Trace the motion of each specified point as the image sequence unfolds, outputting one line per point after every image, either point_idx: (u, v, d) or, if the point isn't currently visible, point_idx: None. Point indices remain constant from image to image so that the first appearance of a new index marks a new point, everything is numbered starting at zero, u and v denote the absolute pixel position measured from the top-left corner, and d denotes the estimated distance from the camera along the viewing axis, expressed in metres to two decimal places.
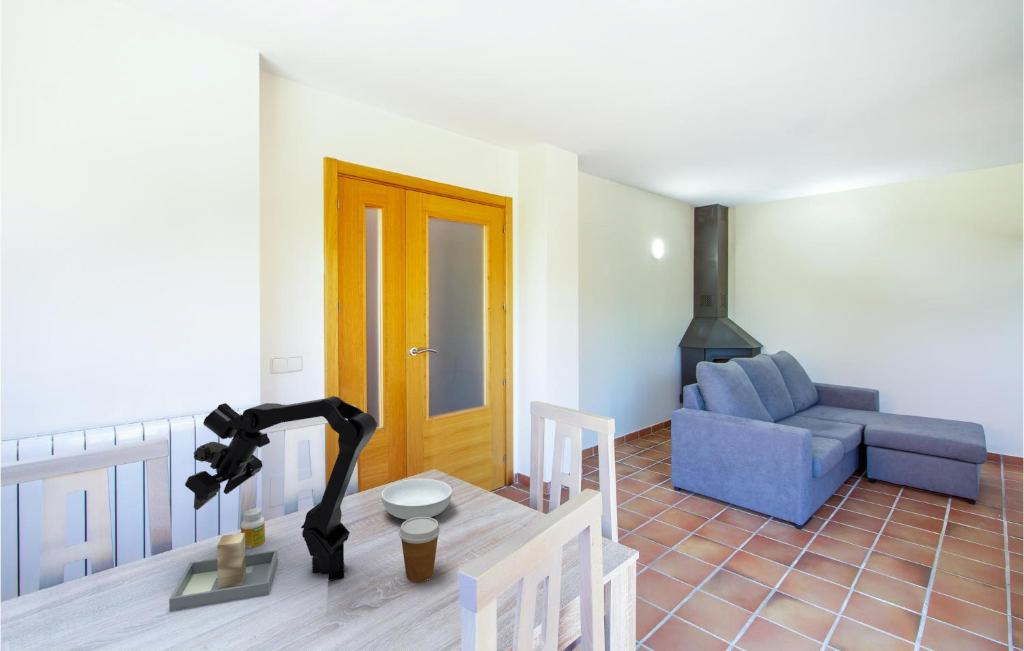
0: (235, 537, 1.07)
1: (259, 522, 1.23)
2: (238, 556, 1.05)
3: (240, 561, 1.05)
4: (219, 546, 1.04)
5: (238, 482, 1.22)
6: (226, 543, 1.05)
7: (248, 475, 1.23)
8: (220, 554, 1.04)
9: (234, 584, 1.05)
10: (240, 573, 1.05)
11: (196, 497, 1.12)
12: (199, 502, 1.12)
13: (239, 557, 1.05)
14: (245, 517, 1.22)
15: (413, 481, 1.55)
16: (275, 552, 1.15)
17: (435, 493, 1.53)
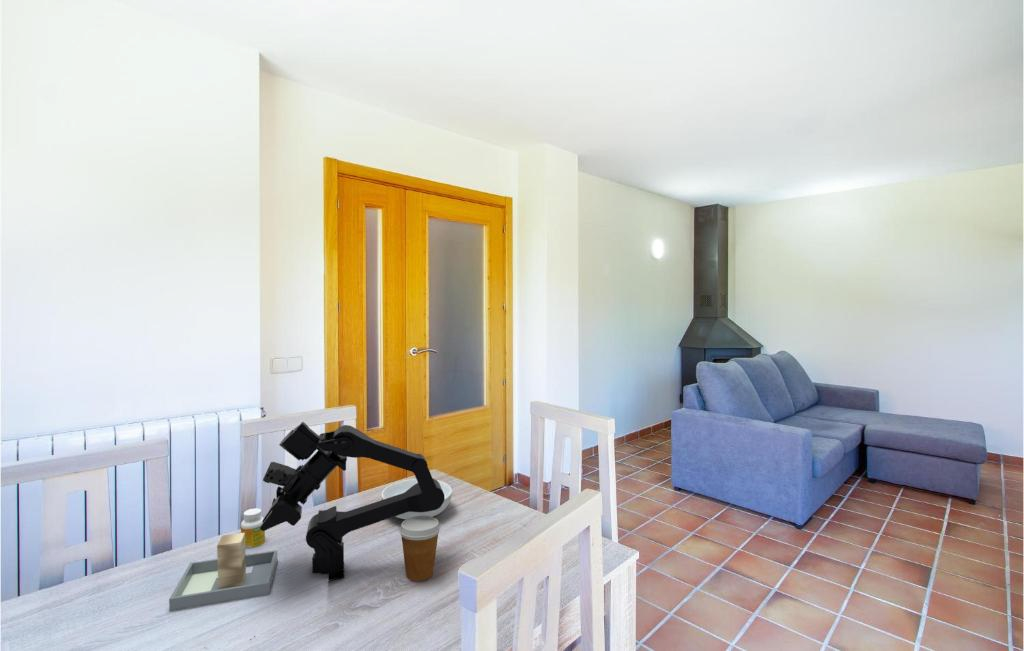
0: (235, 537, 1.07)
1: (259, 522, 1.23)
2: (238, 556, 1.05)
3: (240, 561, 1.05)
4: (219, 546, 1.04)
5: None
6: (226, 543, 1.05)
7: None
8: (220, 554, 1.04)
9: (234, 584, 1.05)
10: (240, 573, 1.05)
11: (270, 517, 1.06)
12: (272, 523, 1.06)
13: (239, 557, 1.05)
14: (245, 517, 1.22)
15: (413, 481, 1.55)
16: (275, 552, 1.15)
17: None
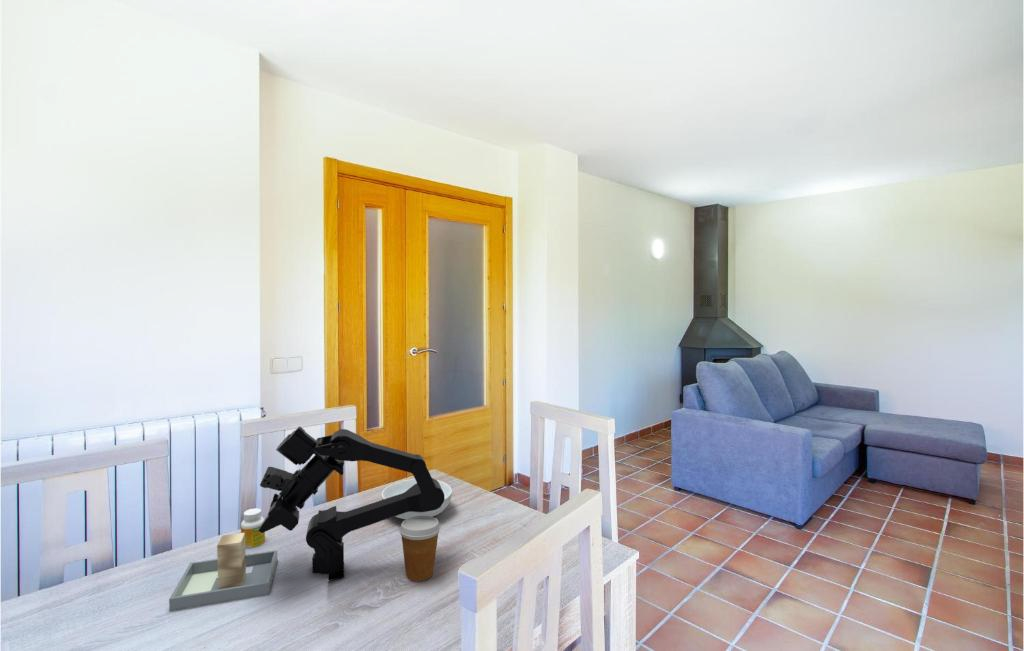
0: (235, 537, 1.07)
1: (259, 522, 1.23)
2: (238, 556, 1.05)
3: (240, 561, 1.05)
4: (219, 546, 1.04)
5: None
6: (226, 543, 1.05)
7: None
8: (220, 554, 1.04)
9: (234, 584, 1.05)
10: (240, 573, 1.05)
11: (269, 519, 1.07)
12: (271, 524, 1.08)
13: (239, 557, 1.05)
14: (245, 517, 1.22)
15: (413, 481, 1.55)
16: (275, 552, 1.15)
17: None
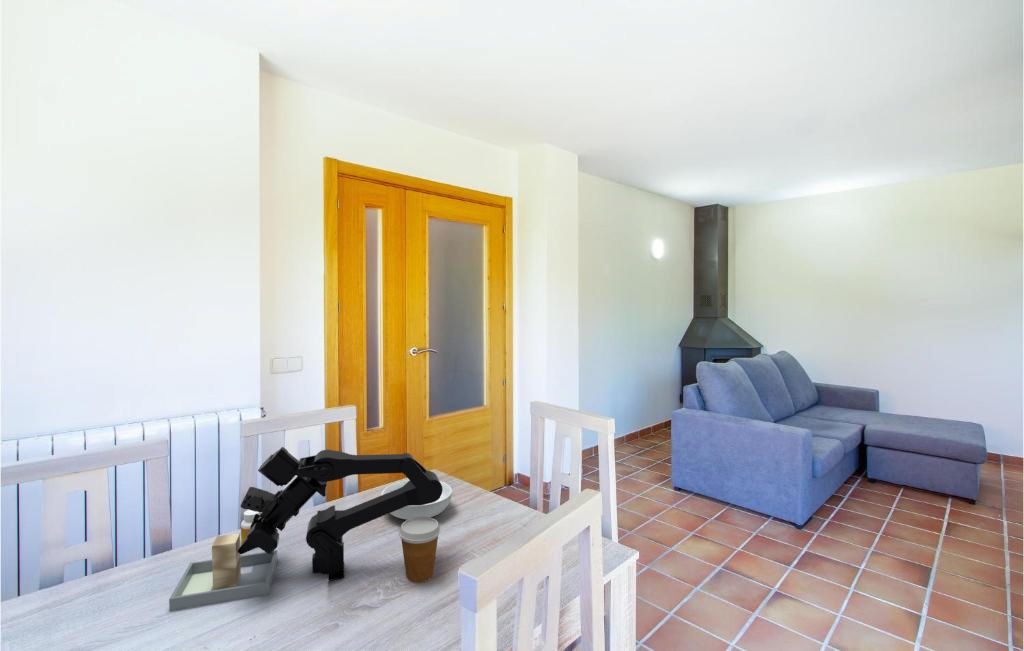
0: (230, 538, 1.07)
1: None
2: (233, 557, 1.05)
3: (235, 561, 1.05)
4: (214, 547, 1.03)
5: None
6: (221, 544, 1.04)
7: None
8: (215, 555, 1.04)
9: (229, 585, 1.05)
10: (235, 574, 1.05)
11: (248, 541, 1.06)
12: (250, 546, 1.07)
13: (234, 558, 1.05)
14: (245, 517, 1.22)
15: None
16: (275, 552, 1.15)
17: None
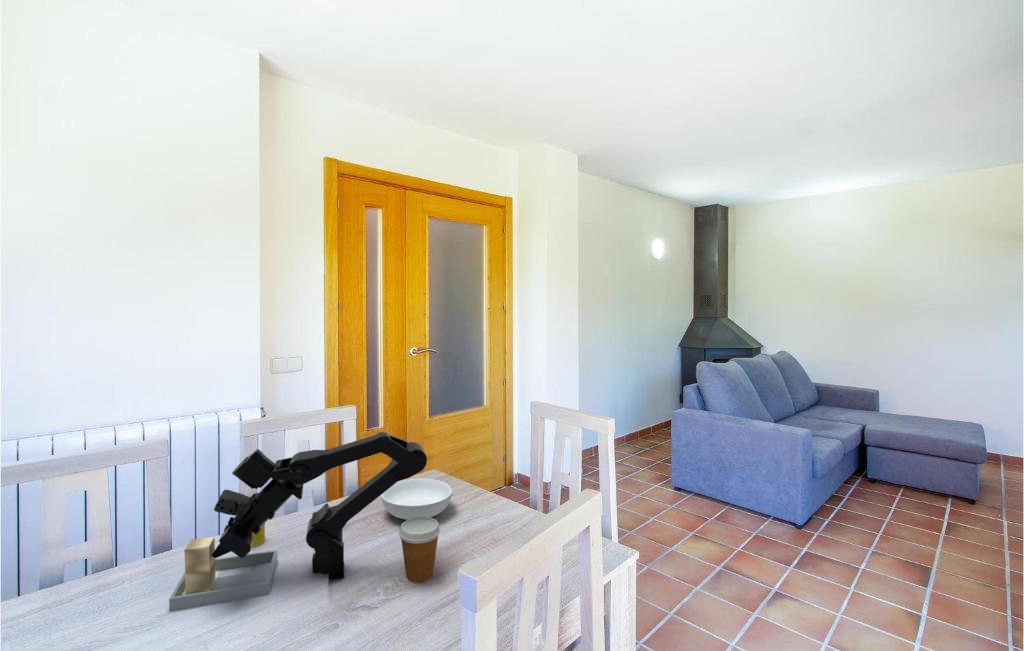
0: (204, 541, 1.05)
1: None
2: (206, 561, 1.03)
3: (208, 565, 1.03)
4: (186, 550, 1.02)
5: None
6: (194, 547, 1.03)
7: None
8: (187, 558, 1.02)
9: (202, 589, 1.03)
10: (208, 578, 1.03)
11: (222, 544, 1.05)
12: (224, 550, 1.05)
13: (207, 562, 1.03)
14: None
15: (413, 481, 1.55)
16: (275, 552, 1.15)
17: (435, 493, 1.53)
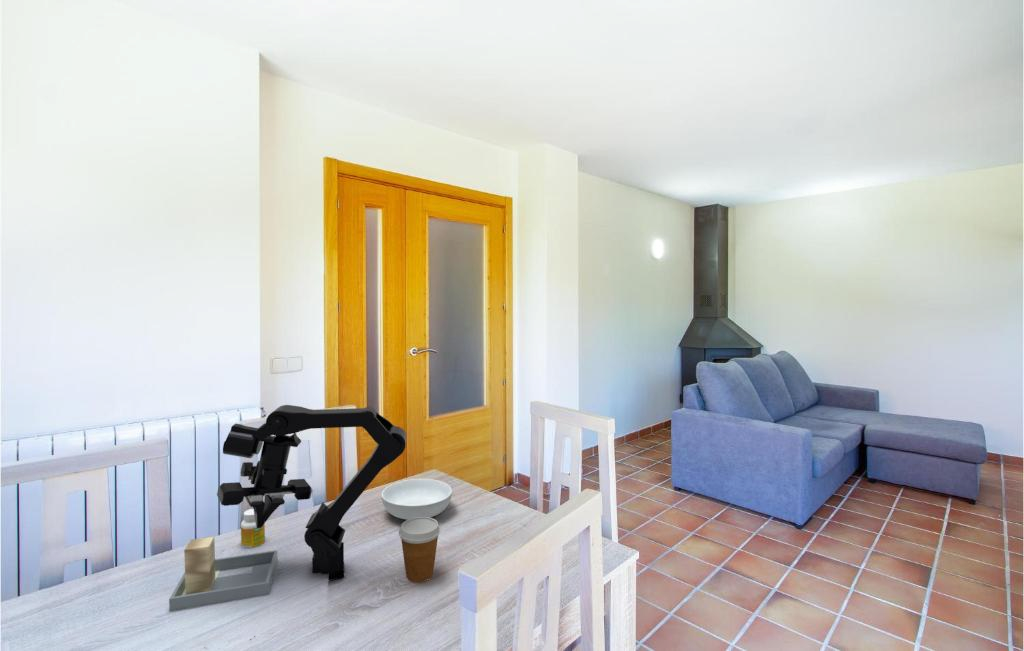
0: (204, 541, 1.05)
1: None
2: (206, 561, 1.03)
3: (208, 565, 1.03)
4: (186, 551, 1.02)
5: (266, 511, 1.09)
6: (194, 547, 1.03)
7: (274, 502, 1.09)
8: (187, 558, 1.02)
9: (202, 589, 1.03)
10: (208, 578, 1.03)
11: (254, 511, 1.10)
12: (255, 517, 1.09)
13: (207, 562, 1.03)
14: (245, 517, 1.22)
15: (413, 481, 1.55)
16: (275, 552, 1.15)
17: (435, 493, 1.53)
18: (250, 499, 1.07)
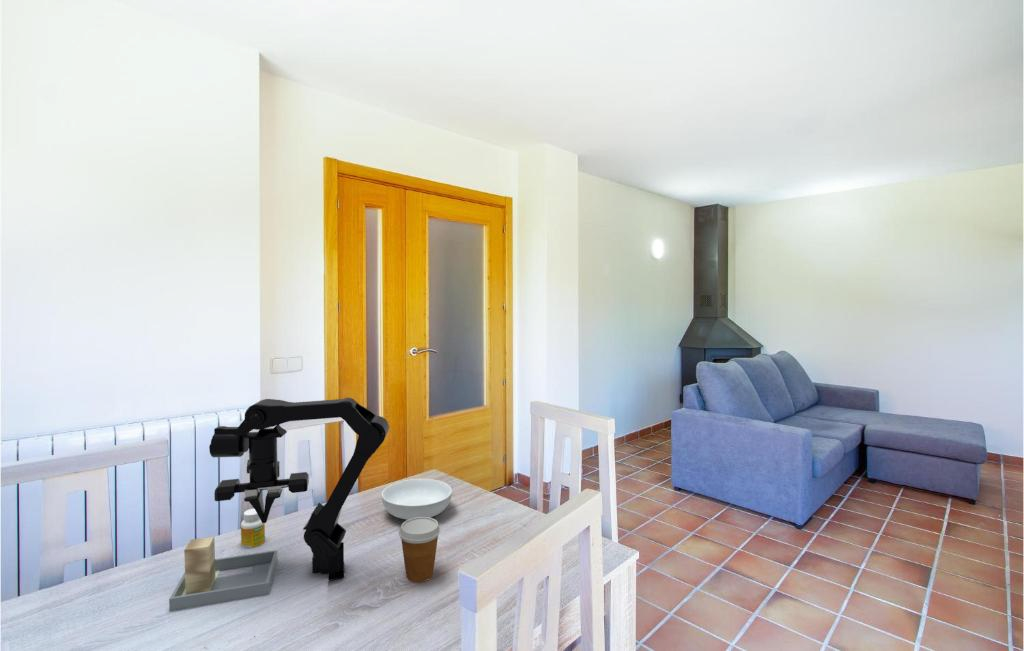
0: (204, 541, 1.05)
1: (259, 522, 1.23)
2: (206, 561, 1.03)
3: (208, 565, 1.03)
4: (186, 551, 1.02)
5: None
6: (194, 547, 1.03)
7: (269, 496, 1.09)
8: (187, 558, 1.02)
9: (202, 589, 1.03)
10: (208, 578, 1.03)
11: None
12: None
13: (207, 562, 1.03)
14: (245, 517, 1.22)
15: (413, 481, 1.55)
16: (275, 552, 1.15)
17: (435, 493, 1.53)
18: None
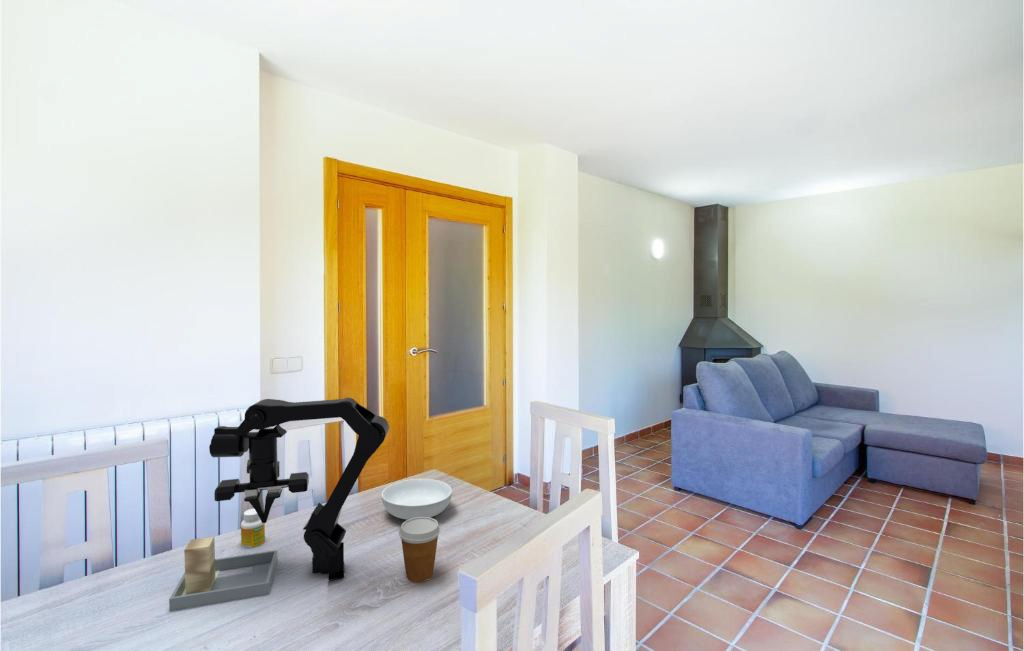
0: (204, 541, 1.05)
1: (259, 522, 1.23)
2: (206, 561, 1.03)
3: (208, 565, 1.03)
4: (186, 551, 1.02)
5: None
6: (194, 547, 1.03)
7: (269, 496, 1.09)
8: (187, 558, 1.02)
9: (202, 589, 1.03)
10: (208, 578, 1.03)
11: None
12: None
13: (207, 562, 1.03)
14: (245, 517, 1.22)
15: (413, 481, 1.55)
16: (275, 552, 1.15)
17: (435, 493, 1.53)
18: None
